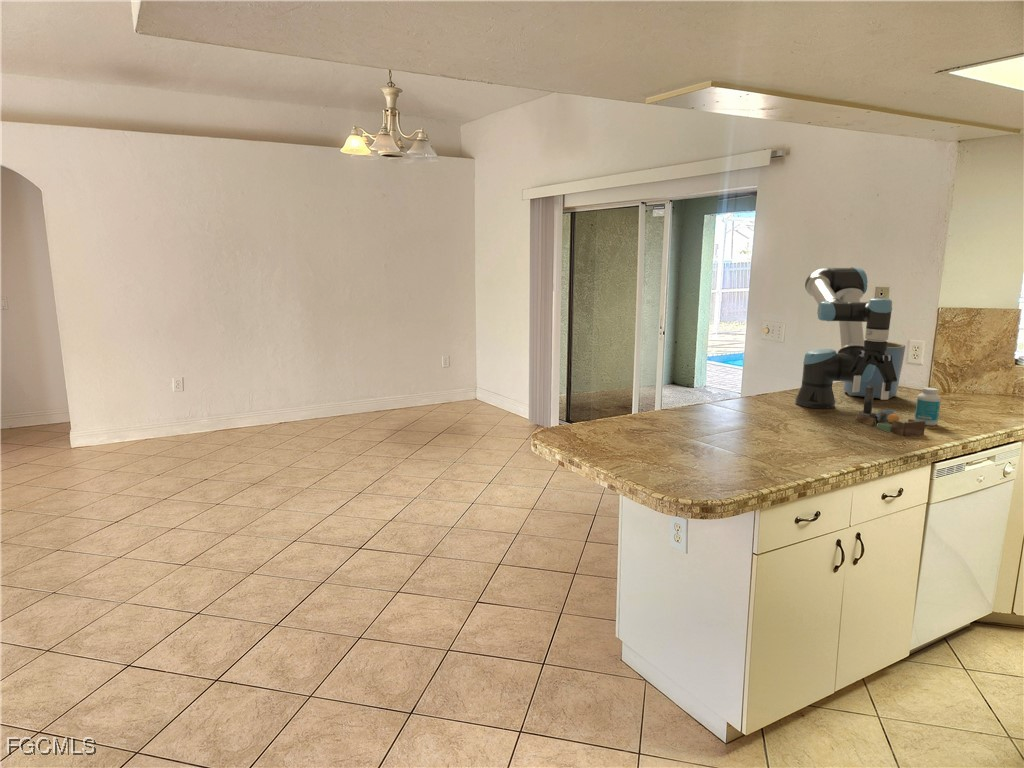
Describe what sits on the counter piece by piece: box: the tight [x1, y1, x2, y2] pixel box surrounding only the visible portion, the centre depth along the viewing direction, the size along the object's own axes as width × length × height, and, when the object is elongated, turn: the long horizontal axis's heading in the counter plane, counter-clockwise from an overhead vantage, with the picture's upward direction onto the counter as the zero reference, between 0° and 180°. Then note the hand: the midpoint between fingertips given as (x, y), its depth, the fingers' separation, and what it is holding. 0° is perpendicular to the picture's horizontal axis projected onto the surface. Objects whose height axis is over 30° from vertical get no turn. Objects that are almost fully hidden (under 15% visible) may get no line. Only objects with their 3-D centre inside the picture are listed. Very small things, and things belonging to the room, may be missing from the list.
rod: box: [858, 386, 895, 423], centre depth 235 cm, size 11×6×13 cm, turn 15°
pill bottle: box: [914, 387, 942, 426], centre depth 234 cm, size 8×7×14 cm
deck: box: [876, 420, 904, 433], centre depth 228 cm, size 6×10×2 cm, turn 105°
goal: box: [890, 418, 926, 437], centre depth 222 cm, size 6×8×5 cm
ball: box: [887, 413, 900, 423], centre depth 228 cm, size 4×4×4 cm
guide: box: [855, 413, 889, 426], centre depth 237 cm, size 8×7×2 cm
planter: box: [843, 339, 906, 401], centre depth 280 cm, size 23×23×24 cm
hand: (869, 395), depth 238 cm, fingers open, 13 cm apart
